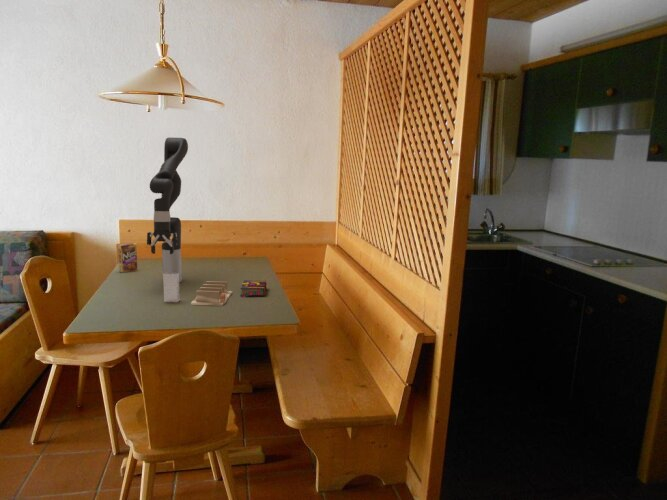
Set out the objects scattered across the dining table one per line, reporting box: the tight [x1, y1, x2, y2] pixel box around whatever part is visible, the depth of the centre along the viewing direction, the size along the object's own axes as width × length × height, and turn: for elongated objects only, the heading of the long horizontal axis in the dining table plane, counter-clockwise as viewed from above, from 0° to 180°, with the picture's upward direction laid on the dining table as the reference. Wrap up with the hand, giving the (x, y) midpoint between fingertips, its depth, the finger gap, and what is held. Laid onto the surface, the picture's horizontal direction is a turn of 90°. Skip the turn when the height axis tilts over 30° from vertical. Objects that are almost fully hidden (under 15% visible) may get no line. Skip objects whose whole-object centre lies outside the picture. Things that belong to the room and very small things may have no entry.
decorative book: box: [240, 279, 267, 298], centre depth 250 cm, size 11×16×5 cm
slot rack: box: [190, 280, 233, 307], centre depth 238 cm, size 20×14×6 cm
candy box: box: [117, 242, 138, 273], centre depth 285 cm, size 9×4×15 cm, turn 134°
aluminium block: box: [162, 272, 180, 303], centre depth 232 cm, size 3×6×13 cm, turn 89°
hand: (162, 253), depth 251 cm, fingers open, 8 cm apart
